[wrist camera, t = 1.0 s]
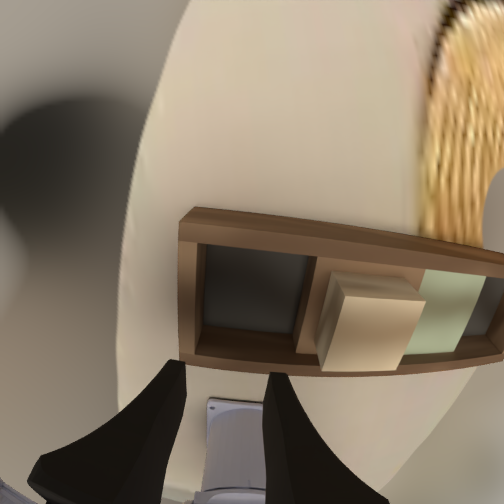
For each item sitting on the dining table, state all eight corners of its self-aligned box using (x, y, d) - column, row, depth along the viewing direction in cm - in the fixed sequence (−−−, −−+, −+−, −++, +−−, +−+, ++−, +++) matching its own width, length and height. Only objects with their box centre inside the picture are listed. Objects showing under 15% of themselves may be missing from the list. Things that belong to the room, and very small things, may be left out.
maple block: (380, 342, 18) (395, 370, 15) (313, 340, 18) (321, 371, 15) (404, 278, 16) (426, 301, 14) (331, 270, 16) (345, 296, 14)
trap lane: (484, 340, 22) (502, 361, 18) (190, 331, 21) (179, 363, 18) (519, 256, 18) (543, 272, 15) (194, 206, 18) (178, 221, 14)
